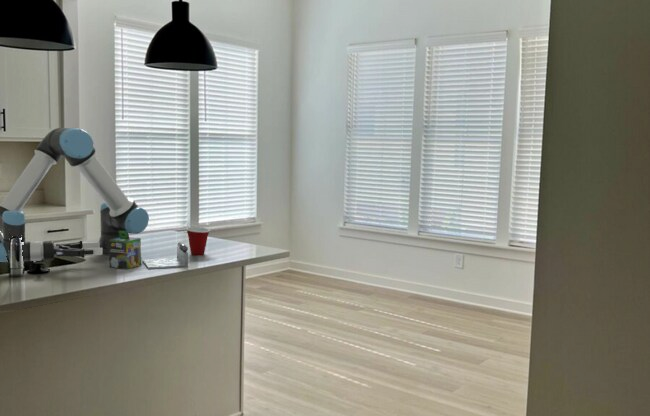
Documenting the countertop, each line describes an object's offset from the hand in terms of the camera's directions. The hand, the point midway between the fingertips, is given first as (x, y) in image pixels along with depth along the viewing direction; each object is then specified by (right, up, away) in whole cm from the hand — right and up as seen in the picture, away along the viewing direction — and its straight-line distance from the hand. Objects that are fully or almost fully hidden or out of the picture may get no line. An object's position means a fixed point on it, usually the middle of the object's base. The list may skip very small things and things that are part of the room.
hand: (101, 248), depth 245 cm
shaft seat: (+23, -7, +11) cm, 27 cm away
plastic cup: (+32, -5, +35) cm, 48 cm away
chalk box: (+8, -8, +5) cm, 12 cm away
